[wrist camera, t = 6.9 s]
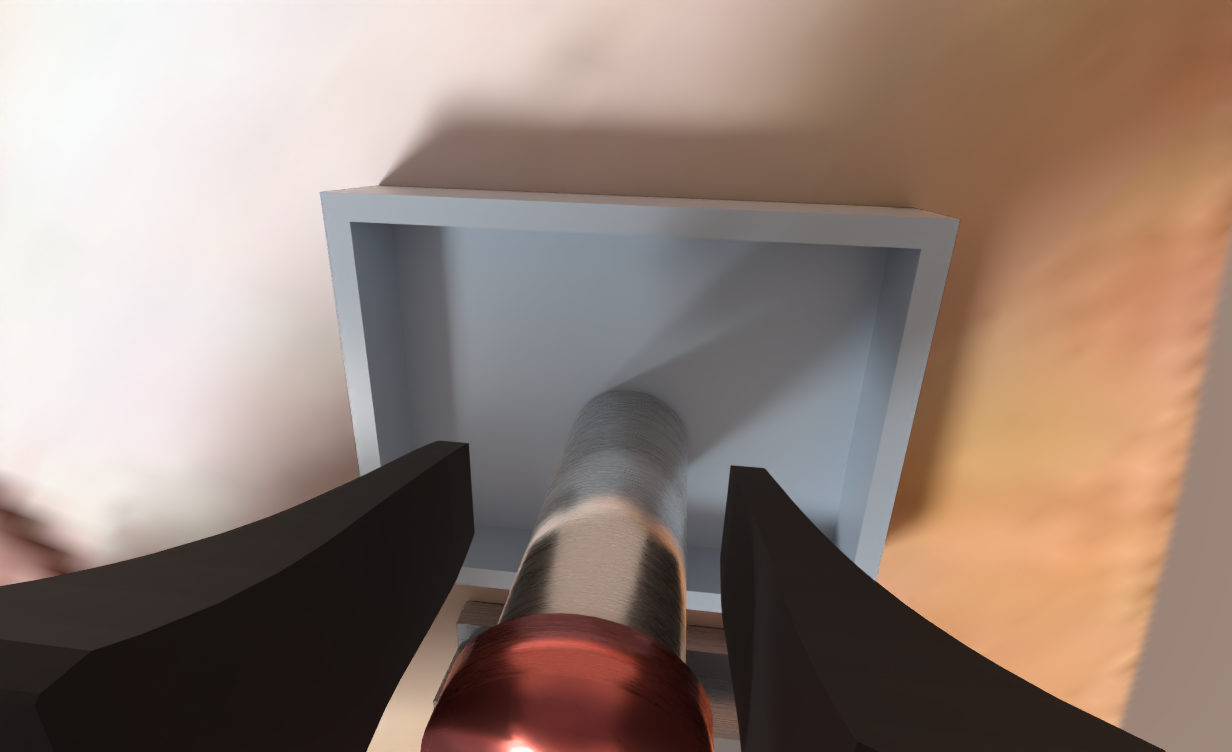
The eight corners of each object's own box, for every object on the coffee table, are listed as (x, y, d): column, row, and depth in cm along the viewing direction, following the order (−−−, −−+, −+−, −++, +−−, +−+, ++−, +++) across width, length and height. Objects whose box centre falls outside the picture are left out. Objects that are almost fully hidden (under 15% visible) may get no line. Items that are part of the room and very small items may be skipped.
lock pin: (558, 499, 17) (438, 850, 9) (553, 372, 16) (401, 660, 7) (697, 509, 17) (704, 888, 9) (707, 381, 15) (728, 695, 7)
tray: (413, 522, 19) (373, 574, 16) (376, 185, 15) (319, 191, 13) (841, 565, 17) (864, 628, 15) (915, 207, 14) (959, 219, 12)
